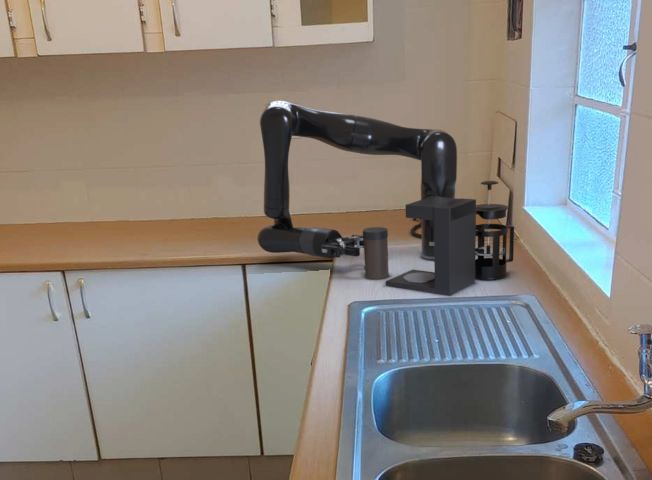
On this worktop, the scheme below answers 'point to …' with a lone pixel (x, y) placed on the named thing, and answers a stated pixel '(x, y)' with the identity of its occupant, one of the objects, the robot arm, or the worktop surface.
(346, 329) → the worktop surface
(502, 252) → the french press
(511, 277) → the worktop surface
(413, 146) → the robot arm
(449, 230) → the coffee maker
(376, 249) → the brown travel mug
